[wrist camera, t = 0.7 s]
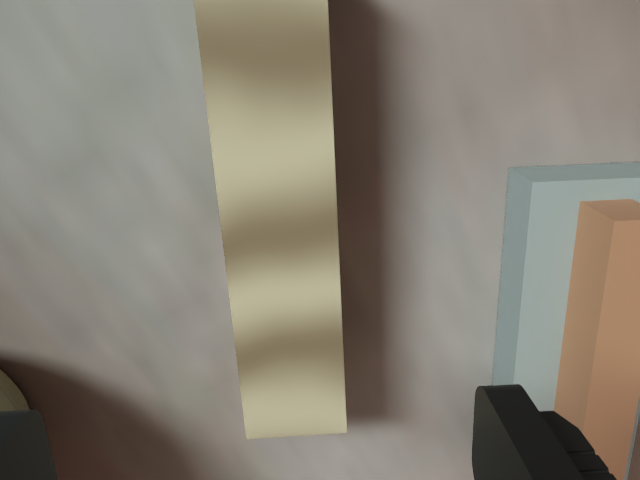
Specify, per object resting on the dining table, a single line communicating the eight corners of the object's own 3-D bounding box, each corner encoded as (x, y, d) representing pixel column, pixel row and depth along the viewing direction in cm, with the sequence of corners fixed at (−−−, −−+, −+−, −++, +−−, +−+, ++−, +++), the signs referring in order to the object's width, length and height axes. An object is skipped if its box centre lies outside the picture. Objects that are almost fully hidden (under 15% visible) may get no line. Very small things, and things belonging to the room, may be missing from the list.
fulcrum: (509, 167, 28) (561, 200, 22) (646, 161, 28) (732, 192, 22) (486, 455, 34) (523, 538, 29) (599, 450, 34) (658, 531, 29)
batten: (208, -40, 25) (186, -59, 20) (320, -46, 25) (324, -66, 20) (254, 380, 32) (246, 439, 28) (340, 375, 32) (346, 432, 28)
